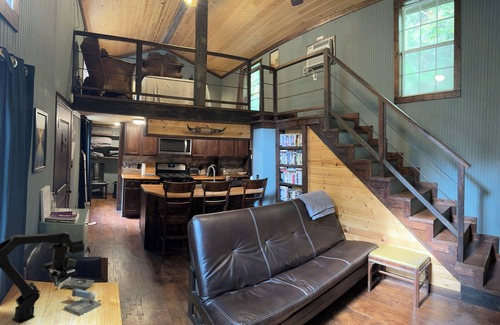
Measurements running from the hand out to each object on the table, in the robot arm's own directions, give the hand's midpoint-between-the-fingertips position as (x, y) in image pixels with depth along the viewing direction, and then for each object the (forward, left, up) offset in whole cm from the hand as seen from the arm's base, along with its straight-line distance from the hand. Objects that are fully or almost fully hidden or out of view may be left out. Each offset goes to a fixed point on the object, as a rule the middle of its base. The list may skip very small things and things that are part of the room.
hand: (56, 286), depth 145 cm
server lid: (+9, -9, -12) cm, 17 cm away
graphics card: (+22, +14, -13) cm, 29 cm away
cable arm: (+13, -4, -10) cm, 17 cm away
